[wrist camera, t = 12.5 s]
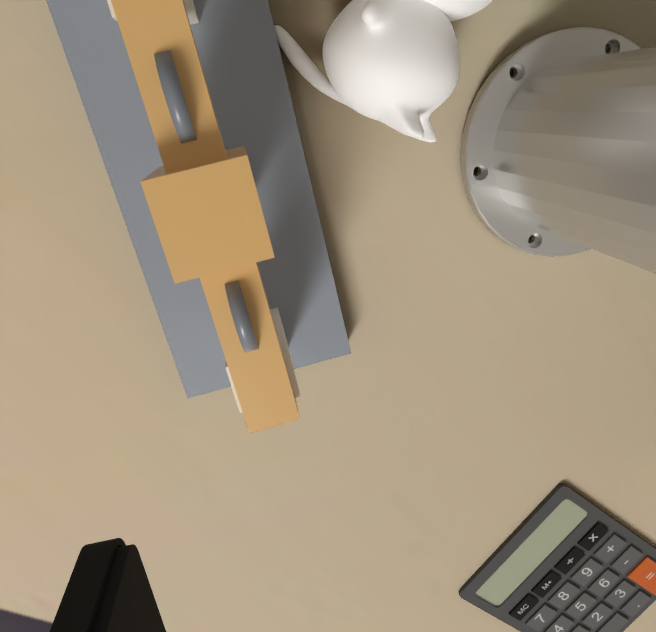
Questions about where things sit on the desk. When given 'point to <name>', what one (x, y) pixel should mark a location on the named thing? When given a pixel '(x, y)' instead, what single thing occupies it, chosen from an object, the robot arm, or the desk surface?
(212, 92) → the display stand
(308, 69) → the cat figurine
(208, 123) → the tan bar with handles
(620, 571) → the calculator
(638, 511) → the desk surface
